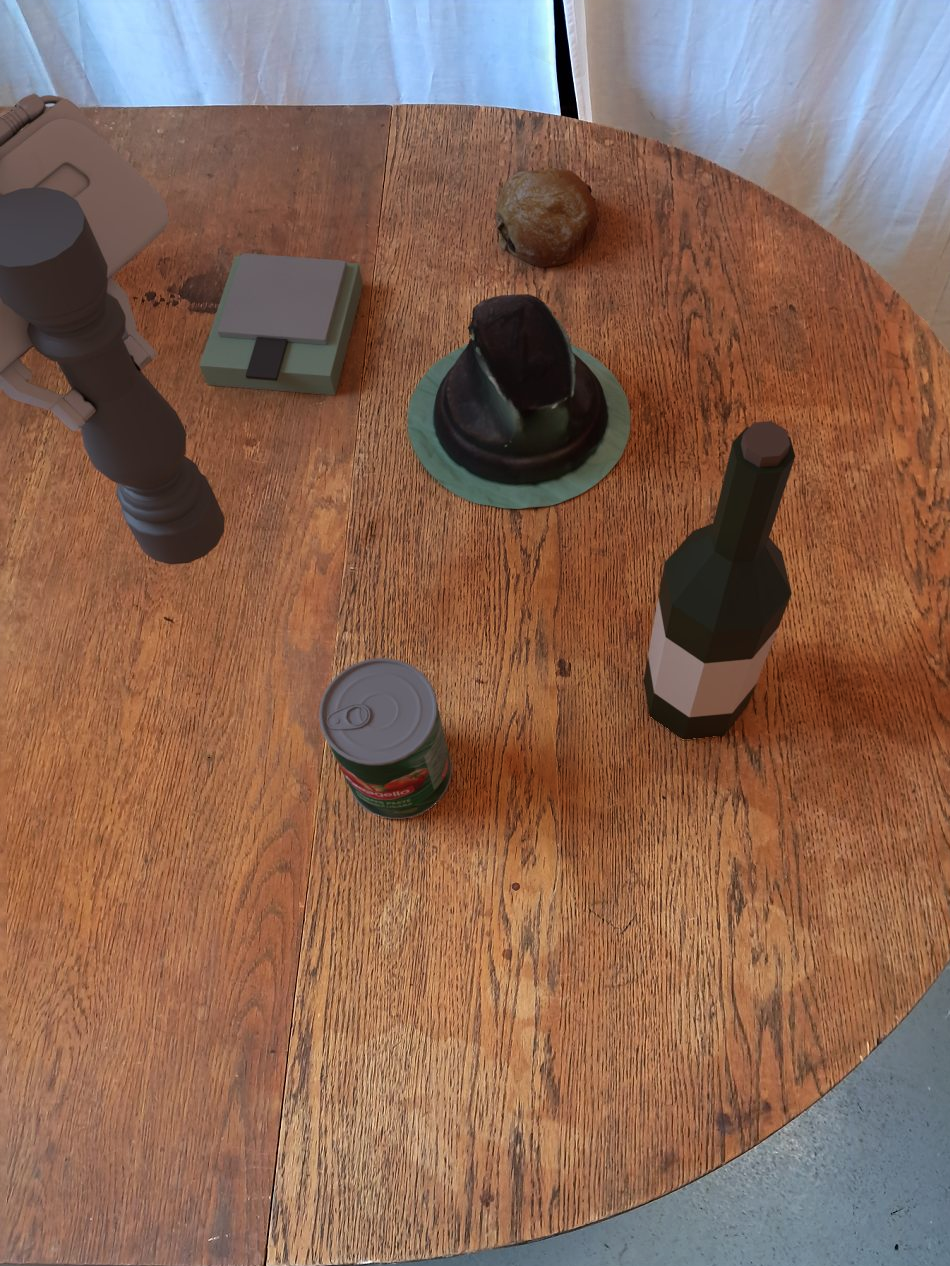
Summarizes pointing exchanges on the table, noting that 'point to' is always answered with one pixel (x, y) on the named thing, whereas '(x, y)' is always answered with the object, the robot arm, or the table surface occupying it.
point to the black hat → (518, 411)
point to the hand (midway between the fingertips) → (116, 394)
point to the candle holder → (104, 373)
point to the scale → (283, 324)
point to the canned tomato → (387, 737)
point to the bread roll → (546, 216)
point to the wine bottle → (722, 596)
